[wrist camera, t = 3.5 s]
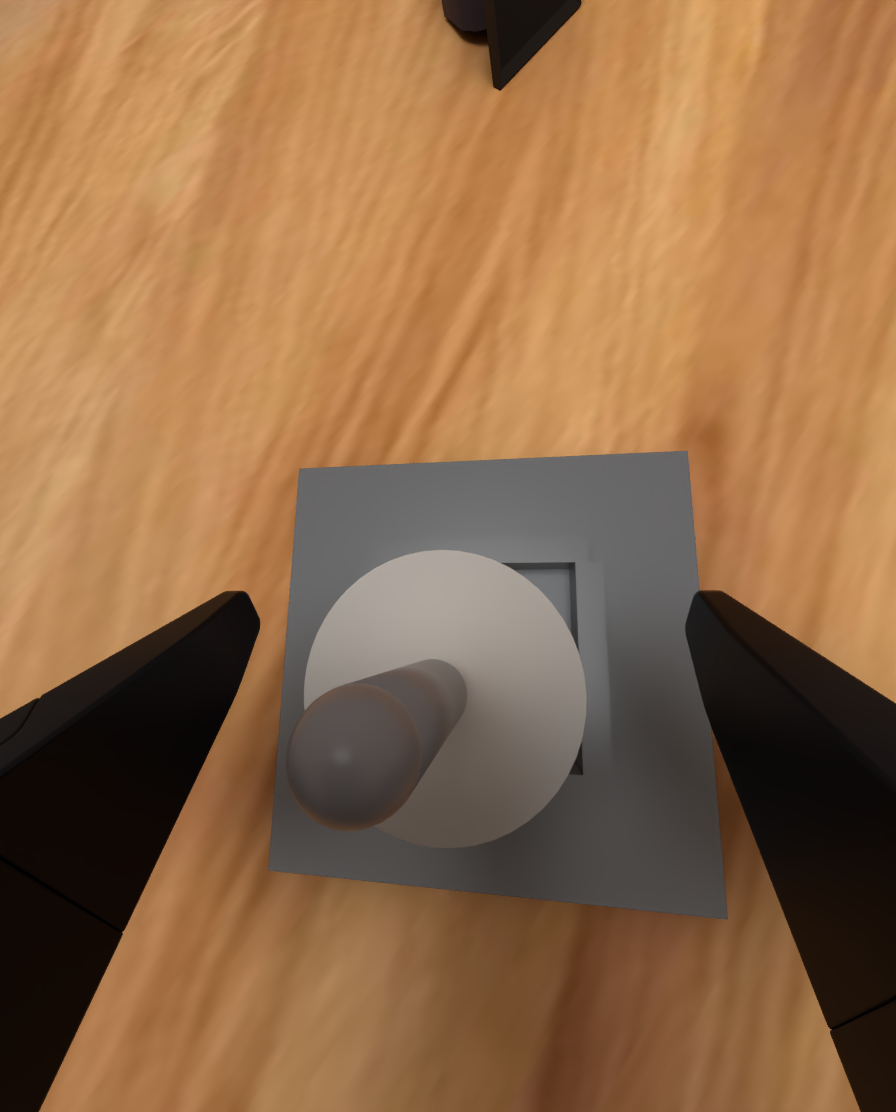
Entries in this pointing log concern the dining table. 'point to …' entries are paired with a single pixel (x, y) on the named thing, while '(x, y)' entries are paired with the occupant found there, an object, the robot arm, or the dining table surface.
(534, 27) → the speaker
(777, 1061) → the dining table surface
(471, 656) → the plug
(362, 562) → the dock
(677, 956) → the dining table surface
